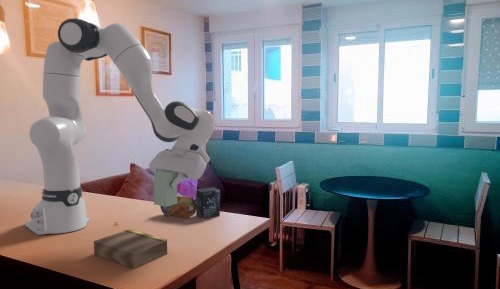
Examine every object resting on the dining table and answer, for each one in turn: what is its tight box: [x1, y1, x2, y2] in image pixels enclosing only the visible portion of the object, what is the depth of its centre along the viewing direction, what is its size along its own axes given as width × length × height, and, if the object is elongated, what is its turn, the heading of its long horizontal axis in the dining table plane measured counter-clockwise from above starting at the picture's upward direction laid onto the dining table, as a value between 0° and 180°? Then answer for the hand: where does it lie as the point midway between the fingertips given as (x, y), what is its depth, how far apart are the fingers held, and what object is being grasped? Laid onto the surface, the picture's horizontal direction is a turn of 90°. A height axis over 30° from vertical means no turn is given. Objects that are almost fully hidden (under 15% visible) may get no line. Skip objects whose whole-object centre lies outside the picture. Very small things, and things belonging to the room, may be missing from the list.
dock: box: [93, 228, 168, 269], centre depth 106 cm, size 17×12×4 cm
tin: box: [160, 194, 196, 219], centre depth 143 cm, size 15×3×8 cm, turn 69°
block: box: [153, 171, 178, 207], centre depth 115 cm, size 5×5×10 cm
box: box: [195, 187, 221, 220], centre depth 144 cm, size 8×6×11 cm
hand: (164, 185), depth 114 cm, fingers closed on block, 5 cm apart
